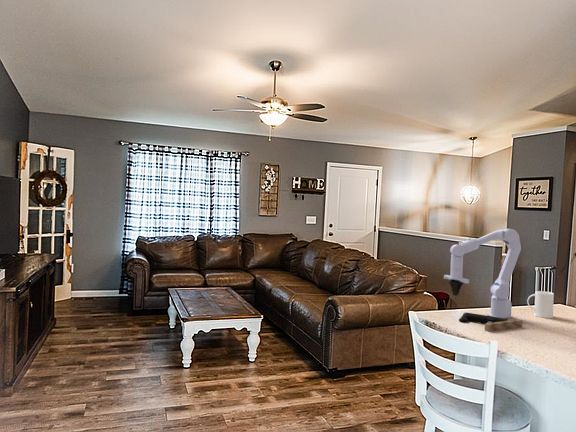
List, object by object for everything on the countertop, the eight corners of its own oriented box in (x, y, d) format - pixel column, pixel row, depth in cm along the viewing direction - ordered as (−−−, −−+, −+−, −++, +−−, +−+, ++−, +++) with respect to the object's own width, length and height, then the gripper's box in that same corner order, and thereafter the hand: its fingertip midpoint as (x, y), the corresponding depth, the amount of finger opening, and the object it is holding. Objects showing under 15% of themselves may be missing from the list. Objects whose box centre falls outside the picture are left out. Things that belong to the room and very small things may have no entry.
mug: (526, 315, 224) (527, 292, 224) (526, 312, 232) (527, 289, 232) (553, 319, 219) (554, 295, 218) (552, 315, 226) (554, 292, 226)
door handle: (503, 326, 194) (509, 317, 207) (456, 319, 205) (464, 310, 218) (503, 334, 194) (509, 324, 207) (455, 326, 205) (464, 317, 219)
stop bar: (518, 325, 204) (518, 319, 204) (522, 326, 202) (522, 320, 202) (484, 330, 195) (484, 323, 194) (488, 331, 193) (488, 324, 193)
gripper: (439, 266, 228) (438, 292, 228) (462, 270, 215) (461, 298, 215) (450, 266, 231) (449, 292, 231) (472, 270, 218) (471, 297, 218)
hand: (455, 295), depth 224 cm, fingers closed
